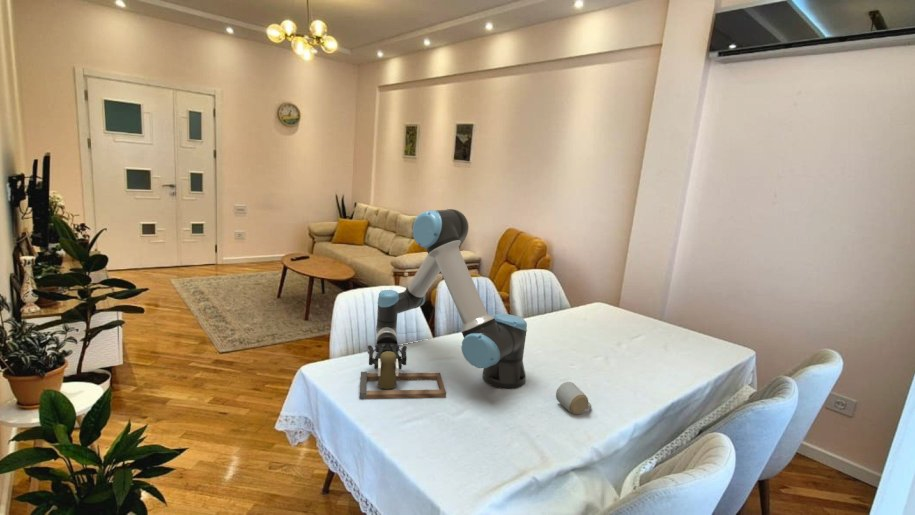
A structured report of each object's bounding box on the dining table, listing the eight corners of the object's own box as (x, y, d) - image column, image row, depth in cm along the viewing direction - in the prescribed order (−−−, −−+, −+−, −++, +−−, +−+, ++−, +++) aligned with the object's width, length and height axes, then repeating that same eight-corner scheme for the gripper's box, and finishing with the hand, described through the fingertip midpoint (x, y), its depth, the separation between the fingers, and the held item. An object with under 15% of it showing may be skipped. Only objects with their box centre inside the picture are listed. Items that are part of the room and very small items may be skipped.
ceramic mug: (569, 417, 139) (572, 395, 137) (553, 403, 146) (557, 382, 145) (596, 413, 143) (600, 391, 141) (580, 400, 150) (584, 379, 149)
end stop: (366, 377, 153) (366, 371, 153) (365, 399, 140) (366, 393, 139) (360, 377, 153) (360, 371, 152) (359, 399, 139) (359, 393, 139)
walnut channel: (439, 376, 158) (440, 372, 157) (446, 397, 144) (446, 393, 144) (366, 377, 153) (366, 373, 153) (365, 399, 140) (366, 394, 139)
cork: (380, 389, 144) (382, 358, 142) (375, 381, 149) (376, 350, 147) (398, 387, 147) (400, 355, 145) (392, 378, 152) (394, 347, 150)
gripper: (411, 351, 166) (416, 382, 144) (361, 351, 163) (358, 383, 141) (412, 332, 165) (417, 361, 142) (362, 331, 161) (359, 360, 139)
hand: (388, 371), depth 142 cm, fingers closed on cork, 5 cm apart
